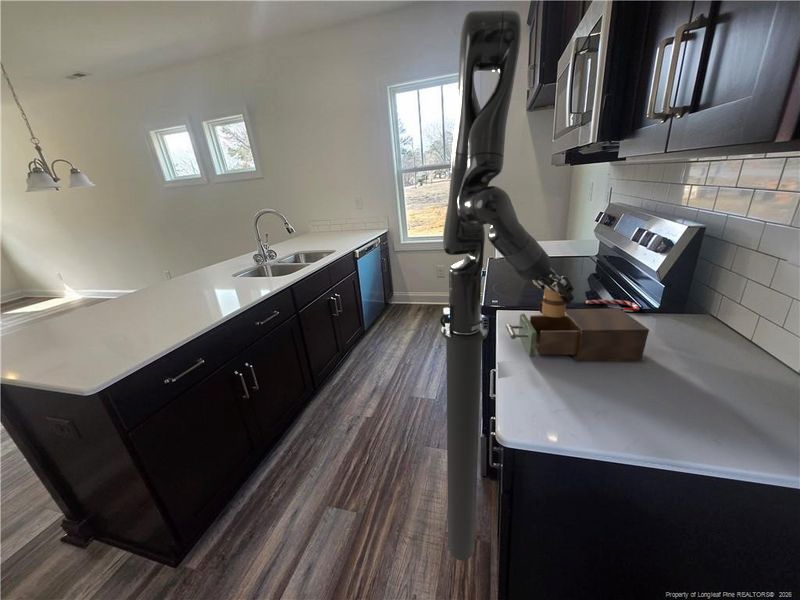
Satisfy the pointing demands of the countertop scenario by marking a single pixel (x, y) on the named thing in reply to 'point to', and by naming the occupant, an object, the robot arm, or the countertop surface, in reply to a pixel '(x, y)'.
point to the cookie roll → (553, 304)
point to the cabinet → (608, 335)
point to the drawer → (546, 334)
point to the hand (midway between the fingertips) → (560, 296)
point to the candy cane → (616, 303)
